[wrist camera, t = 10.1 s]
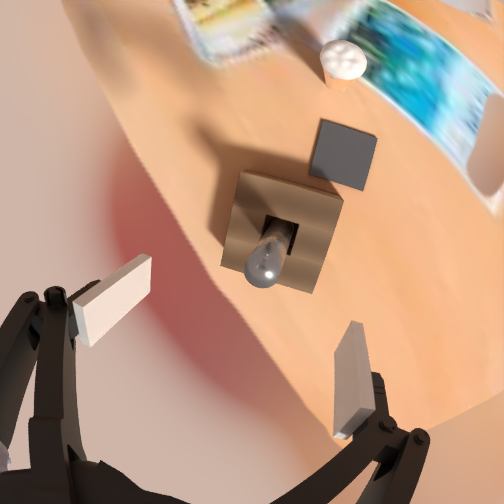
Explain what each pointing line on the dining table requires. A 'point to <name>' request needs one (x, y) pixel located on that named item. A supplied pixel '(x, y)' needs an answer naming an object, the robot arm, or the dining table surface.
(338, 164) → the mat
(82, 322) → the robot arm
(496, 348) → the dining table surface
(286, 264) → the hole block
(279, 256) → the pin
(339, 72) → the milkshake
